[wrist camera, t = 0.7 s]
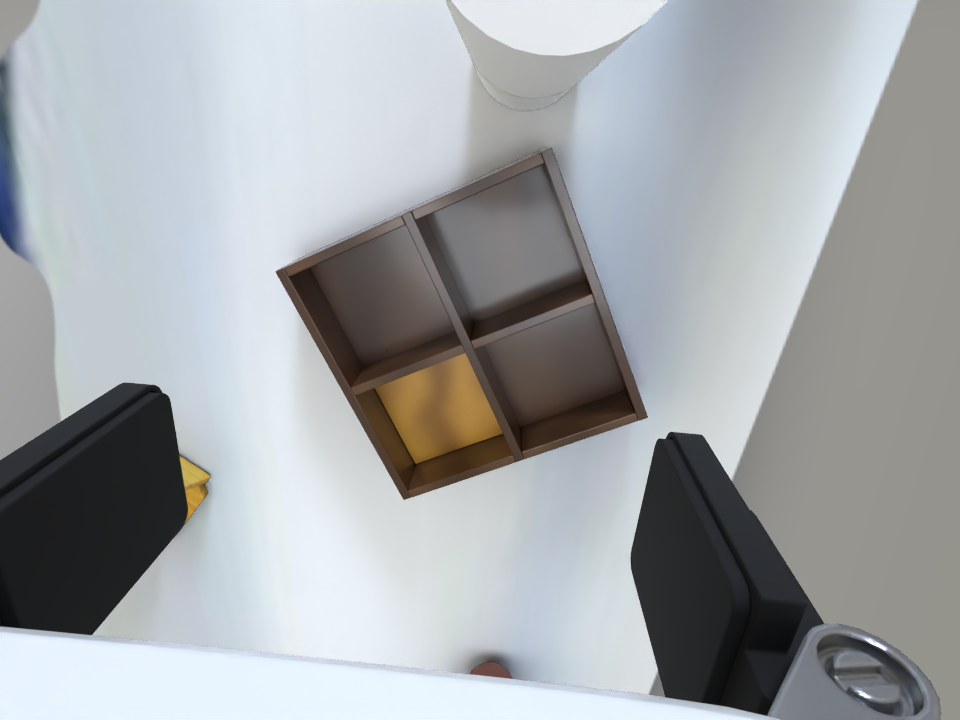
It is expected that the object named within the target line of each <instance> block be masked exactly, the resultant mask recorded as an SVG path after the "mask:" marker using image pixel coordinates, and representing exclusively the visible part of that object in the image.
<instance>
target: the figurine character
mask: <svg viewBox="0 0 960 720" xmlns="http://www.w3.org/2000/svg"><path fill="white" fill-rule="evenodd" d="M470 674H472V675H481V676H490V677H499V678H509V679H513V678H512V676H511V674H510V673H509V671H508V670H507V669H506V668H504V667H503V666H501V665H500V664H497V663H493V662H487V663H483V664H480V665H478V666H477V667H475V668H474V669H473V670H472V671H471V673H470Z"/></svg>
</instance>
